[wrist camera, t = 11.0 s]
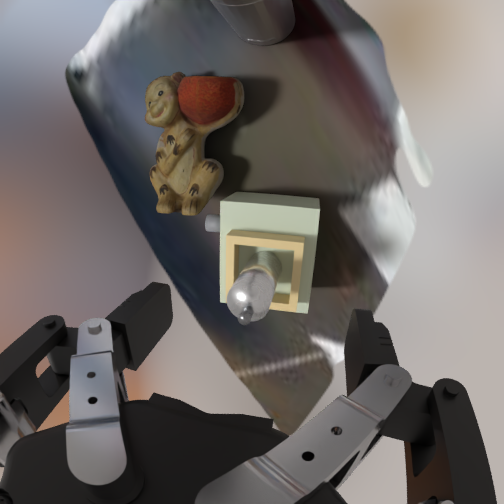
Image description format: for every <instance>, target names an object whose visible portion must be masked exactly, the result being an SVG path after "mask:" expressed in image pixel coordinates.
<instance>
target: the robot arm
mask: <svg viewBox="0 0 504 504" xmlns="http://www.w3.org/2000/svg"><path fill="white" fill-rule="evenodd" d="M210 1H211V2H212V3H213V5H214V6H215V7H216V8H217V9H218V11H219V12H220V13H221V14H222V16H223V17H224V18H225V19H226V21H227V22H228V23H229V25H230V26H231V27H232V28H233V30H234V31H235V32H236V34H237V35H238V36H239V37H240V38H241V39H242V40H244V41H245V42H248V43H250V44H253V45H261V46H264V45H271V44H275V43H278V42H280V41H282V40H283V39H285V38H286V37H287V36H288V35H289V34H290V33H291V32H292V30H293V28H294V25H295V14H294V9H293V4H292V0H210ZM172 319H173V312H172V301H171V290H170V286H169V285H168V284H163V283H157V282H152V283H150V284H149V285H148V286H147V287H146V288H145V289H144V290H143V291H139V292H137V293H134V294H132V295H131V296H130V297H129V298H128V299H126V301H124V302H123V303H122V304H121V305H120V306H118V307H117V308H116V309H115V310H114V311H113V312H112V313H110V314H109V315H108V316H107V317H106V318H105V319H103V318H93V319H89V320H87V321H85V322H83V323H82V324H81V325H80V326H79V328H72V327H71V328H70V327H66V325H65V321H64V319H63V317H61V316H57V315H51V316H47V317H44V318H42V319H41V320H39V321H38V322H37V323H36V324H35V325H33V326H32V327H31V328H30V329H28V330H27V331H26V332H25V333H24V334H23V335H22V336H20V337H19V338H18V339H17V340H16V341H14V342H13V343H12V344H11V345H10V346H9V347H8V348H7V349H5V350H4V351H3V352H2V353H1V354H0V467H4V472H3V476H2V479H1V482H0V504H347V503H346V502H345V500H344V499H343V498H342V497H341V495H340V494H339V493H338V492H337V491H336V490H337V489H338V488H339V487H340V486H341V485H342V484H343V483H344V482H345V481H346V480H347V479H348V477H349V476H350V475H351V473H352V472H353V471H354V470H355V469H356V468H357V466H358V465H359V464H360V463H361V462H362V461H363V460H364V458H365V457H366V456H367V455H368V454H369V453H370V452H371V450H372V449H373V448H374V447H375V446H376V445H377V443H378V442H379V441H380V439H381V438H382V437H383V436H387V437H391V438H395V439H399V440H403V441H404V446H405V459H406V475H407V504H497V501H496V495H495V490H494V485H493V480H492V475H491V471H490V466H489V463H488V458H487V454H486V450H485V446H484V443H483V439H482V436H481V432H480V429H479V426H478V423H477V419H476V417H475V413H474V410H473V407H472V405H471V402H470V399H469V396H468V393H467V391H466V389H465V387H464V386H463V385H462V384H461V383H459V382H458V381H455V380H453V379H449V378H443V379H440V380H438V381H437V382H435V384H434V386H433V388H431V387H427V386H423V385H419V384H416V383H414V382H412V378H411V375H410V374H409V372H408V371H407V370H405V369H404V368H402V367H400V366H399V363H398V360H397V356H396V353H395V349H394V346H393V343H392V340H391V337H390V333H389V331H388V329H387V328H386V327H385V326H384V325H383V324H382V323H379V322H374V318H373V315H372V311H371V310H364V309H353V311H352V315H351V320H350V324H349V328H348V332H347V336H346V341H345V347H344V357H345V370H346V386H347V397H346V396H344V395H341V396H339V397H337V398H336V399H335V400H334V401H333V402H332V403H331V404H329V405H328V406H327V407H326V408H325V409H324V410H322V411H321V412H320V413H319V414H318V415H316V416H315V417H314V418H313V419H311V420H310V421H309V422H308V423H306V424H305V425H304V426H303V427H301V428H300V429H299V430H297V431H296V432H295V433H294V434H292V435H291V436H288V435H287V434H285V433H283V432H281V431H279V430H276V429H274V428H272V426H273V420H274V419H269V418H262V417H256V416H250V415H244V414H209V413H205V412H203V411H201V410H199V409H197V408H195V407H193V406H191V405H189V404H187V403H185V402H183V401H181V400H178V399H174V398H171V397H167V396H164V395H160V394H157V393H153V394H152V396H151V397H150V399H149V400H133V401H129V400H128V394H127V389H126V384H125V378H124V374H123V370H124V369H125V368H128V369H131V370H134V371H136V370H137V369H138V367H139V366H140V365H141V364H142V362H143V361H144V360H145V358H146V357H147V356H148V354H149V353H150V352H151V350H152V349H153V348H154V347H155V345H156V344H157V343H158V341H159V340H160V339H161V338H162V336H163V335H164V334H165V333H166V331H167V330H168V329H169V327H170V326H171V323H172ZM46 355H47V358H48V360H49V363H50V366H49V367H48V368H47V369H46V370H45V371H44V372H43V373H42V374H41V376H40V377H39V378H37V376H36V367H37V365H38V363H39V362H40V361H41V360H42V359H43V358H44V357H45V356H46ZM69 389H70V393H69V394H70V395H69V397H70V398H69V399H70V400H69V411H70V412H69V413H70V414H69V415H70V421H69V422H67V423H64V424H61V425H58V426H55V427H52V428H49V429H45V430H42V431H39V432H36V431H37V429H38V428H39V427H40V426H41V424H42V423H43V422H44V420H45V419H46V418H47V417H48V415H49V414H50V413H51V412H52V410H53V409H54V408H55V406H56V405H57V404H58V403H59V402H60V400H61V399H62V398H63V396H64V395H65V394H66V393H67V392H68V390H69Z"/></svg>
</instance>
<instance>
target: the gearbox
mask: <svg viewBox="0 0 504 504" xmlns="http://www.w3.org/2000/svg"><path fill="white" fill-rule="evenodd" d="M319 215H320V203H319V198H310V197H299V196H288V195H276V194H264V193H250V192H235V193H233V194H232V195H230V196H228V197H226V198H225V199H223V200H221V201H220V215H213V214H208V215H207V217H206V222H205V228H206V231H210V232H220V302H223V303H227V294H228V292H229V290H230V289H231V287H232V286H233V284H234V282H235V281H236V279H237V278H238V276H239V275H240V273H241V271H242V270H243V268H244V267H245V265H246V264H247V262H248V260H249V259H250V257H251V256H252V255H253V254H255V253H256V252H259V251H268V252H271V253H273V254H274V255H276V256H277V257H278V258H279V260H280V262H281V264H282V272H281V276H280V278H279V281H278V284H277V287H276V290H275V293H274V296H273V299H272V302H271V305H270V308H269V309H273V310H281V311H290V312H298V313H308V306H309V299H310V292H311V285H312V277H313V269H314V261H315V253H316V244H317V235H318V225H319Z"/></svg>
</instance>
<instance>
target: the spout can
mask: <svg viewBox="0 0 504 504" xmlns="http://www.w3.org/2000/svg"><path fill="white" fill-rule="evenodd" d="M281 272H282V264H281V262H280V260H279V258H278V257H277V256H276V255H274V254H273V253H271V252H268V251H259V252H256V253H255V254H253V255H252V256H251V257H250V259H249V260H248V262H247V264H246V265H245V267H244V268H243V270H242V271H241V273H240V275H239V276H238V278H237V279H236V281H235V282H234V284H233V286H232V287H231V289H230V290H229V292H228V294H227V305H228V307H229V309H230V311H231V312H232V313H233V314H234V315H235V316H236V317H238V321H239V322H240V323H241V324H243V325H247V324H249V323H250V321H257V320H260V319H262V318H263V317H264V316H265V315H266V314H267V313H268V310H269V308H270V305H271V302H272V299H273V296H274V293H275V290H276V287H277V284H278V281H279V278H280V276H281Z"/></svg>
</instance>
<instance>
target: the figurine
mask: <svg viewBox="0 0 504 504" xmlns="http://www.w3.org/2000/svg"><path fill="white" fill-rule="evenodd" d="M145 102H146V107H147V113H146V115H145V121H146V122H147V123H148V124H149V125H152V126H156V127H162V128H164V129H165V131H164V132H163V133H162V134H161V136H160V138H159V141H158V145H157V151H156V162H157V164H156V165H154V166H153V167H152V168H151V170H150V179H151V182H152V184H153V186H154V188H155V190H156V192H157V194H158V198H159V201H158V204H157V206H156V210H157V212H159V213H172V212H182V214H183V215H197V214H199V213H200V212H201V211H202V209H203V208H204V207H205V205H206V204H207V203H208V201H209V200H210V199H211V198H212V196H213V194H214V192H215V191H216V190H217V188H218V187H219V185H220V184H221V182H222V180H223V176H224V171H223V167H222V165H221V164H220V163H219V162H218V161H216V160H215V159H212V158H209V159H206V158H205V154H204V148H205V141H206V137H207V136H208V135H209V134H210V133H211V132H212V131H214V130H216V129H218V128H221V127H223V126H225V125H226V124H228V123H230V122H231V121H232V120H233V119H235V118H236V117H237V115H238V114H239V113H240V111H241V109H242V107H243V104H244V89H243V85H242V82H240V81H239V80H238V79H237V78H234V77H233V78H232V77H216V76H190V77H186V76H185V74H183V73H181V72H177V73H173V75H172V76H163V77H159V78H157V79H155V80H154V81H152V82H151V83H150V84H149V85H148V87H147V90H146V95H145Z"/></svg>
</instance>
